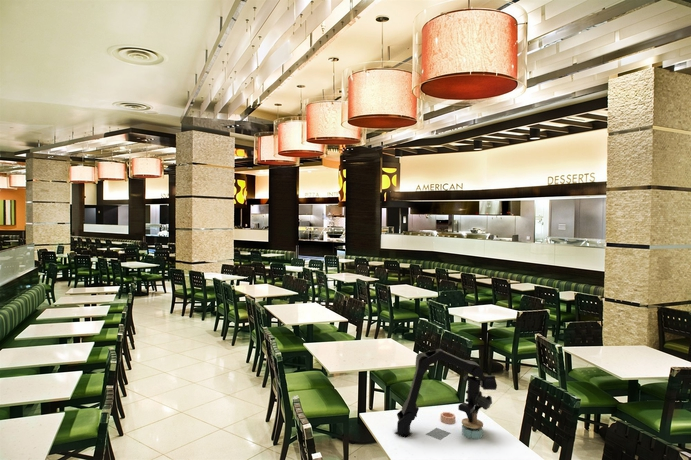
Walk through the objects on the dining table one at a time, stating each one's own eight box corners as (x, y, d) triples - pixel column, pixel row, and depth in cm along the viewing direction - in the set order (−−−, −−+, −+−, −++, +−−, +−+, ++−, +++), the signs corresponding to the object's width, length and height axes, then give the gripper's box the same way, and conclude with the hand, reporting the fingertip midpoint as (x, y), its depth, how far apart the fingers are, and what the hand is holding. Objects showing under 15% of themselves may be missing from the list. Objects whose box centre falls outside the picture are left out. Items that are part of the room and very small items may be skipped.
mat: (440, 440, 216) (440, 439, 216) (425, 435, 221) (425, 434, 221) (450, 433, 224) (451, 433, 224) (436, 428, 229) (436, 427, 229)
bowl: (476, 441, 216) (476, 433, 216) (459, 435, 222) (459, 427, 222) (484, 435, 223) (485, 427, 223) (467, 429, 229) (468, 421, 229)
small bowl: (450, 426, 232) (450, 419, 232) (438, 421, 237) (438, 414, 237) (457, 421, 237) (457, 415, 237) (445, 417, 242) (445, 411, 242)
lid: (477, 430, 215) (477, 418, 215) (457, 423, 222) (458, 411, 222) (486, 424, 223) (487, 412, 223) (467, 417, 230) (468, 406, 229)
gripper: (480, 399, 210) (479, 433, 210) (498, 388, 224) (496, 420, 224) (458, 392, 217) (457, 425, 218) (476, 382, 231) (475, 413, 231)
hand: (472, 421), depth 222 cm, fingers closed on lid, 3 cm apart
